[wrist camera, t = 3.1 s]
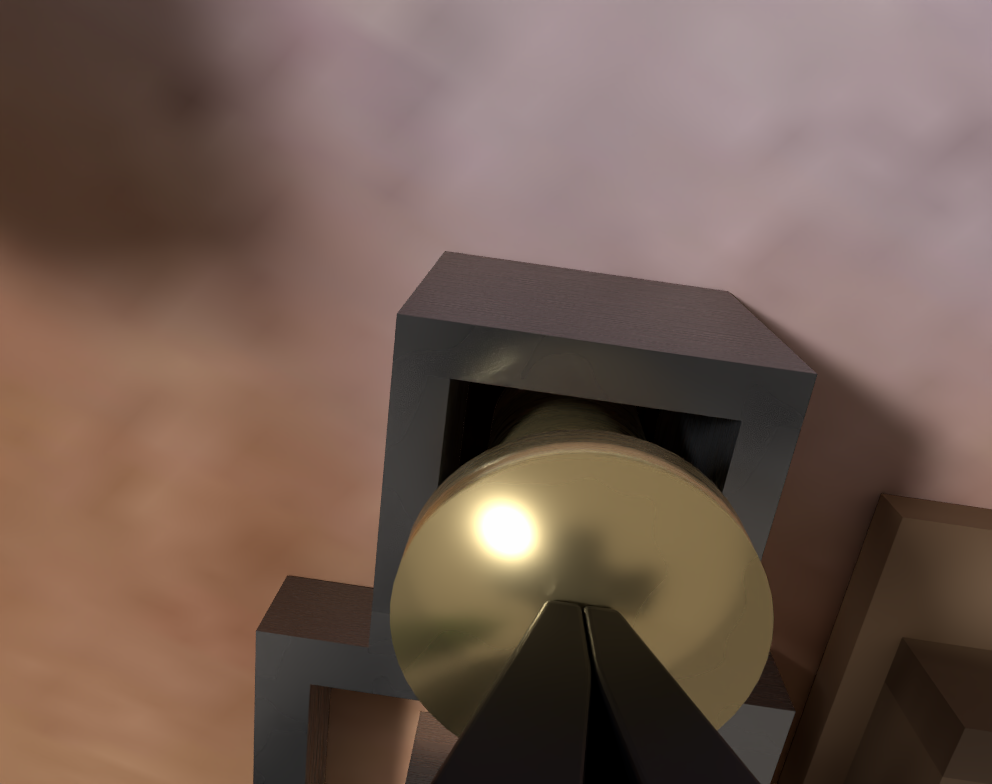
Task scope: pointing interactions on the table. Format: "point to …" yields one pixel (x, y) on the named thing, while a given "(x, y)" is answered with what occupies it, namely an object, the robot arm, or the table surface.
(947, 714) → the brown open tray
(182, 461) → the table surface
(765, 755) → the socket block
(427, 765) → the brushed grey square post
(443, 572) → the pin
